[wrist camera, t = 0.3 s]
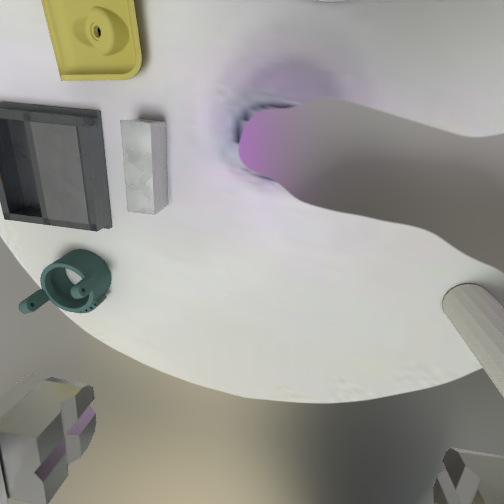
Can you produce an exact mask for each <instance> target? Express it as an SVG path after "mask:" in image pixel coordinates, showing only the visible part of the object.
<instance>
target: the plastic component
mask: <svg viewBox="0 0 504 504" xmlns="http://www.w3.org/2000/svg"><path fill="white" fill-rule="evenodd" d="M41 1H42V5H43V9H44V13H45V17H46V21H47V25H48V29H49V33H50V37H51V41H52V45H53V49H54V53H55V57H56V61H57V65H58V69H59V73H60V78H61V81H83V80H127V79H130V78H132V77H134V76H135V75H136V74H137V73H138V71H139V69H140V67H141V63H142V55H141V48H140V41H139V34H138V27H137V20H136V13H135V6H134V0H41ZM98 27H99V28H100V30H101V36H99V35H98Z"/></svg>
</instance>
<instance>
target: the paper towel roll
mask: <svg viewBox="0 0 504 504" xmlns="http://www.w3.org/2000/svg"><path fill="white" fill-rule="evenodd" d="M442 306H443V311H444V313H445V314H446V316H447V317H448V318H449V320H450V321H451V323H452V324H453V326H454V327H455V328H456V330H457V331H458V333H459V334H460V336H461V337H462V338H463V340H464V341H465V343H466V344H467V346H468V347H469V348H470V350H471V351H472V353H473V354H474V356H475V357H476V358H477V360H478V361H479V363H480V364H481V366H482V367H483V368H484V370H485V371H486V373H487V374H488V376H489V377H490V378H491V380H492V381H493V383H494V384H495V386H496V387H497V388H498V390H499V391H500V393H501V394H502V395H503V397H504V307H502V306H501V305H500V304H499V303H498V302H497V301H496V300H495V299H494V298H493V297H492V296H491V295H490V294H489V293H488V292H487V291H486V290H485V289H484V288H482V287H480V286H478V285H473V284H464V285H459V286H457V287H455V288H453V289H451V290H450V291H449V292H448V293H447V294H446V295H445V297H444V299H443V302H442Z"/></svg>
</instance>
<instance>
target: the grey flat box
mask: <svg viewBox="0 0 504 504" xmlns="http://www.w3.org/2000/svg"><path fill="white" fill-rule="evenodd" d="M0 203H1V207H2V211H3V215H4V219H6V220H14V221H22V222H29V223H37V224H45V225H52V226H60V227H68V228H75V229H83V230H91V231H99V230H100V229H102V228H107V229H110V228H112V220H111V210H110V200H109V190H108V181H107V171H106V161H105V151H104V141H103V131H102V121H101V111H92V110H82V109H71V108H61V107H50V106H40V105H29V104H18V103H8V102H0Z"/></svg>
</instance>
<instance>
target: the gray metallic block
mask: <svg viewBox="0 0 504 504" xmlns="http://www.w3.org/2000/svg"><path fill="white" fill-rule="evenodd" d="M120 122H121V134H122V147H123V159H124V171H125V184H126V196H127V209H128V212H136V213H144V214H152V215H155V214H156V213H158V212H159V211H160V210H162V209H163V208H164V207H166V206H167V205H168V178H167V141H166V122H165V121H154V120H144V119H133V120H120Z"/></svg>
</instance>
